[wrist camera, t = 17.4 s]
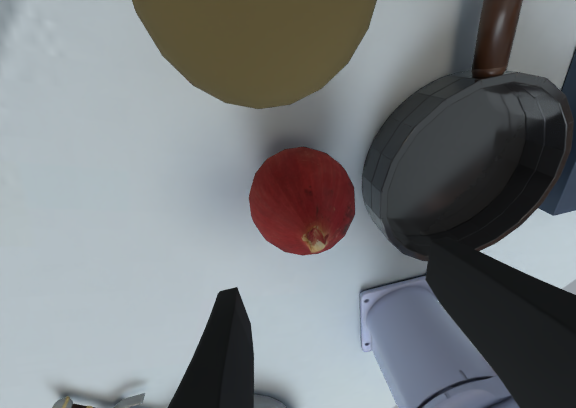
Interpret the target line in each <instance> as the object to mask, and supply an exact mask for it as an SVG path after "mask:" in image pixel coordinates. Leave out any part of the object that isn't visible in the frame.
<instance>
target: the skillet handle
mask: <svg viewBox="0 0 576 408" xmlns="http://www.w3.org/2000/svg"><path fill="white" fill-rule="evenodd" d="M522 2H523V0H483V6H482V12H481V17H480V23H479V29H478V35H477V40H476V46H475V52H474V58H473V64H472V75H473V76H474V77H491V76H498V75H502V74H503V73H504V72H505V70H506V69H507V66H508V62H509V57H510V53H511V49H512V45H513V40H514V36H515V32H516V27H517V23H518V19H519V15H520V10H521V6H522Z"/></svg>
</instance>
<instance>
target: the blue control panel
mask: <svg viewBox="0 0 576 408" xmlns="http://www.w3.org/2000/svg"><path fill="white" fill-rule="evenodd" d="M562 92H563V93H564V94H565V95H566V97H567V100H568V103H569V106H570V109H571V112H572V115H573V118H574V127H573V137H572V148H571V151H570V154H569V156H568V159H567V161H566V164H565V166H564V169H563V171H562V174H561V176H560V178H559V179H558V181H557V182H556V184H555V185H554V187H553V188H552V190H551V191H550V193H549V194H548V196H547V197H546V199H545V200H544V202H543V203H542V204H541V205H540V206H539V207H538V208H539V209H541V210H543V211H545V212H547V213H549V214H551V215H553V216H554V215H558V214H562V213H567V212H571V211H575V210H576V51H575V53H574V56H573V59H572V62H571V65H570V68H569V71H568V74H567V77H566V80H565V83H564V86H563V89H562Z"/></svg>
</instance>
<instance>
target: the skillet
mask: <svg viewBox="0 0 576 408" xmlns="http://www.w3.org/2000/svg"><path fill="white" fill-rule="evenodd" d="M573 127H574V118H573V115H572V112H571V109H570V106H569V103H568V100H567V97H566V95H565V94H564V93H563V92H562V91H561V90H559V89H558V88H557V87H556V86H555V85H554V84H553V83H552V82H550V81H549V80H548V79H547V78H544V77H539V76H534V75H529V74H524V73H520V72H509V71H505V72H504V73H503V74H502V75H498V76H491V77H474V76H473V75H472V71H464V72H458V73H454V74H451V75H447V76H445V77H442V78H440V79H438V80H435V81H433V82H431V83H430V84H428V85H426V86H424V87H423V88H421V89H420V90H418V91H417V92H415V93H414V94H413V95H411V96H410V97H409V98H408V99H406V100H405V101H404V102H403V103H402V104H401V105H400V106H399V107H398V108H397V109H396V110H395V111H394V112H393V113H392V114H391V115H390V117H389V118H388V119H387V120H386V122H385V123H384V125H383V126H382V127H381V129H380V130H379V132H378V134H377V135H376V137H375V139H374V141H373V143H372V145H371V147H370V149H369V152H368V155H367V158H366V161H365V164H364V169H363V175H362V193H363V199H364V203H365V206H366V208H367V211H368V213H369V214H370V216H371V219H372V220H373V222H374V223H375V224H376V225H377V227H378V228H379V229H380V230H381V232H382V233H383V234H384V235H385V237H386V238H387V239H388V240H389V241H390V242H391V243H392V244H393V245H394V246H395V247H396V248H397V249H398V250H399V251H401V252H402V253H403V254H405V255H408V256H411V257H414V258H416V259H419V260H422V261H428V258H429V252H430V245H431V240H434V239H438V238H443V237H449V238H451V239H454V240H456V241H458V242H460V243H462V244H465V245H467V246H469V247H471V248H473V249H475V250H477V251H480V250H483V249H485V248H487V247H489V246H491V245H493V244H495V243H497V242H498V241H500V240H501V239H503V238H504V237H505V236H507V235H508V234H510V233H511V232H512V231H514V230H515V229H516V228H518V227H519V226H520V225H522V224H523V223H524V222H525V221H526V220H527V219H528V218H529V216H530V215H531V214H532V213H533V212H534V211H535V210H536V209H537V208H538V207H539V206H540V205H541V204H542V203H543V202H544V200H545V199H546V197H547V196H548V194H549V193H550V191H551V190H552V188H553V187H554V185H555V184H556V182H557V181H558V179H559V178H560V176H561V174H562V171H563V169H564V166H565V164H566V161H567V159H568V156H569V154H570V151H571V148H572V137H573Z"/></svg>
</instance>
